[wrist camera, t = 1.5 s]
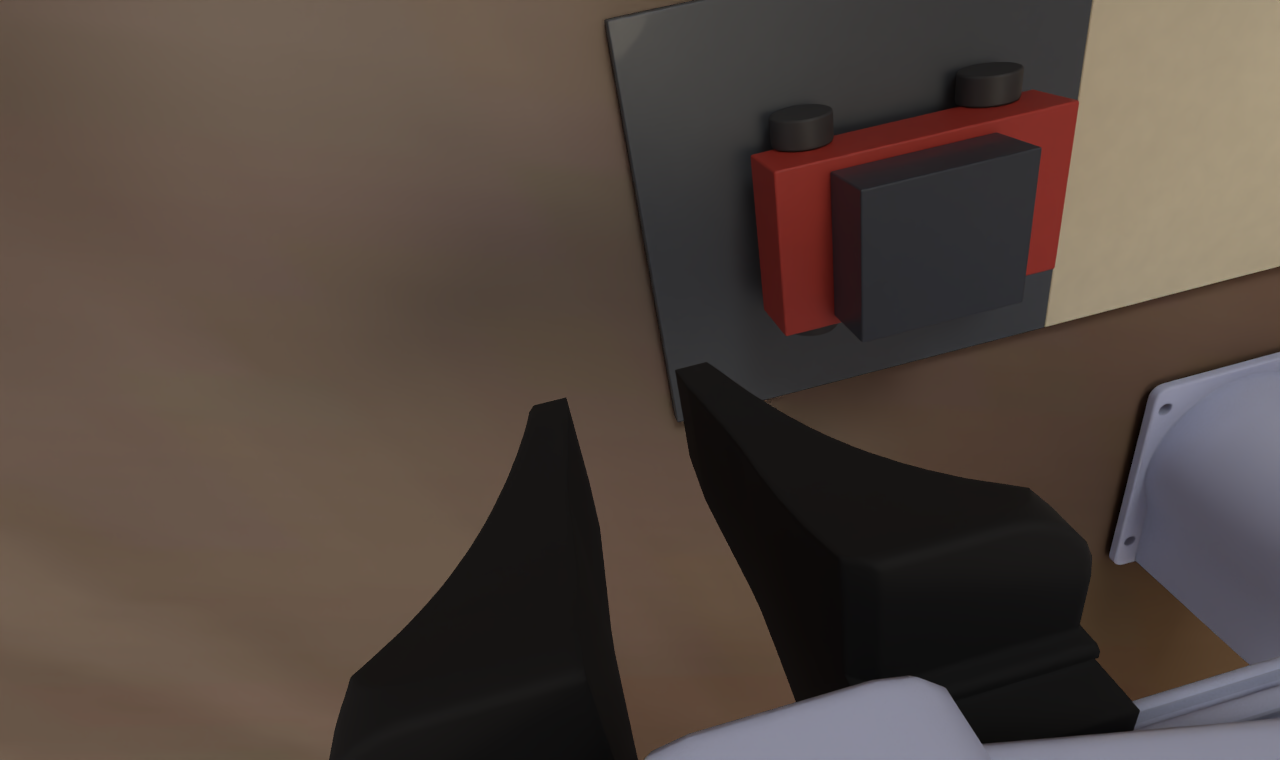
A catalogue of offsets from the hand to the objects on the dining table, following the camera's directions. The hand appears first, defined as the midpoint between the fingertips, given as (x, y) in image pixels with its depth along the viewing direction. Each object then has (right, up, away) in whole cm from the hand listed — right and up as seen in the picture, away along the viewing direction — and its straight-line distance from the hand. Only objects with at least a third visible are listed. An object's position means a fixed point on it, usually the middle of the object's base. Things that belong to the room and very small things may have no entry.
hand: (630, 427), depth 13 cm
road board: (+12, +8, +8) cm, 16 cm away
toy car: (+7, +6, +7) cm, 12 cm away
